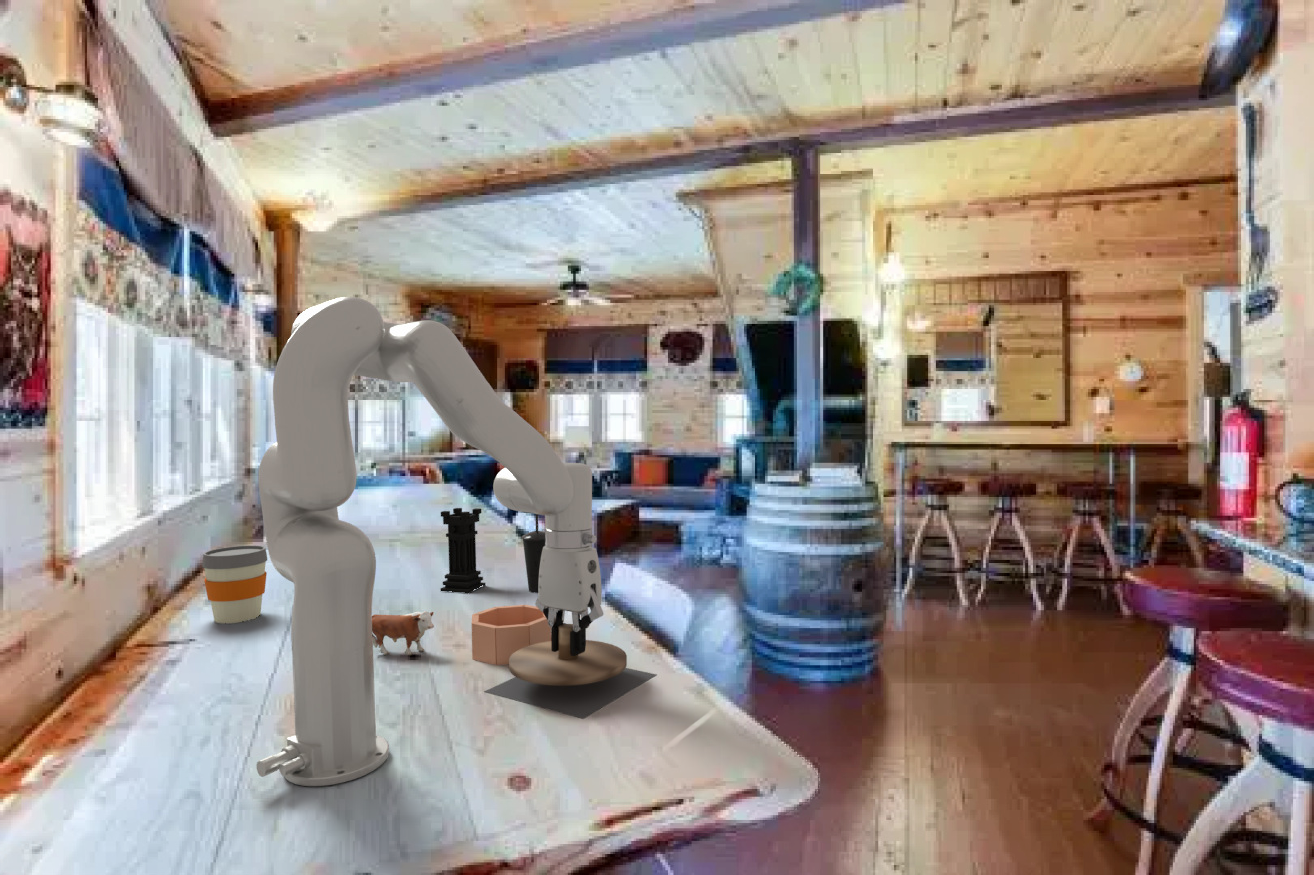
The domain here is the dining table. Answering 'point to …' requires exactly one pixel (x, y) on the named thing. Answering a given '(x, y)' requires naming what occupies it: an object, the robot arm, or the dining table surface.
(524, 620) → the bowl
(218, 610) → the reusable coffee cup
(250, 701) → the dining table surface
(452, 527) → the chess piece
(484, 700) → the dining table surface
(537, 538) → the drinking cup
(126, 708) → the dining table surface
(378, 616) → the bull figurine
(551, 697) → the mat
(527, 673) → the lid
